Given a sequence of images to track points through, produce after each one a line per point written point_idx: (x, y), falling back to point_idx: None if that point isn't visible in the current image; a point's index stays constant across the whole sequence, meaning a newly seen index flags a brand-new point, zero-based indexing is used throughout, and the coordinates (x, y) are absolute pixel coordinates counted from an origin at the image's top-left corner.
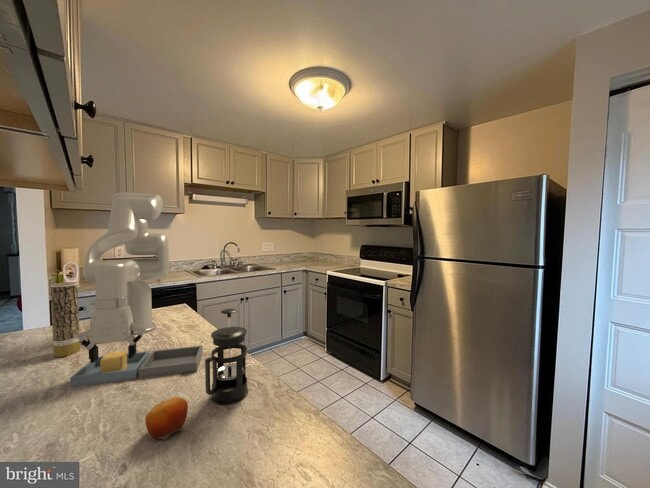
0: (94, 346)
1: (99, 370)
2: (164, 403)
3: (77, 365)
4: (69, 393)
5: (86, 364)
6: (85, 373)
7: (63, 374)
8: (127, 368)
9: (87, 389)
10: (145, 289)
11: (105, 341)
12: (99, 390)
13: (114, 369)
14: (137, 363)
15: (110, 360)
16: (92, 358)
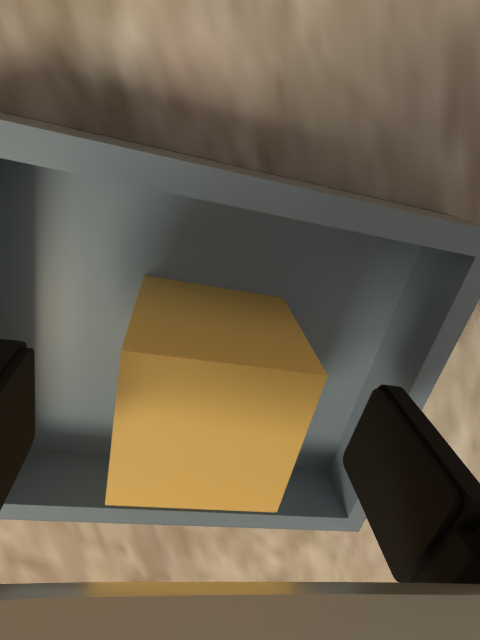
0: (456, 569)
1: None
2: None
3: None
4: (457, 122)
5: None
6: (384, 363)
7: (476, 432)
8: (114, 356)
9: (347, 125)
10: None
11: (370, 621)
12: (254, 38)
13: (187, 301)
14: (61, 413)
15: (224, 353)
16: (404, 414)
